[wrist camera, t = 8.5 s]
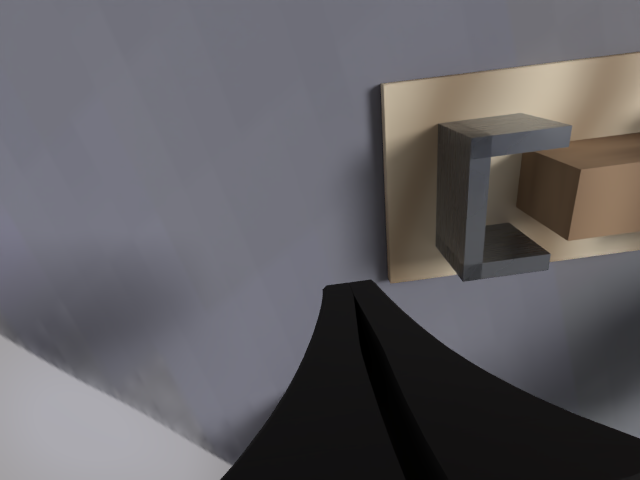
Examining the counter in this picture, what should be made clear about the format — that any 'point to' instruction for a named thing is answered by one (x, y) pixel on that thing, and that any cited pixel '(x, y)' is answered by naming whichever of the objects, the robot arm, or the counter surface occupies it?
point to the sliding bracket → (486, 193)
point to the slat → (584, 187)
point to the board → (487, 101)
